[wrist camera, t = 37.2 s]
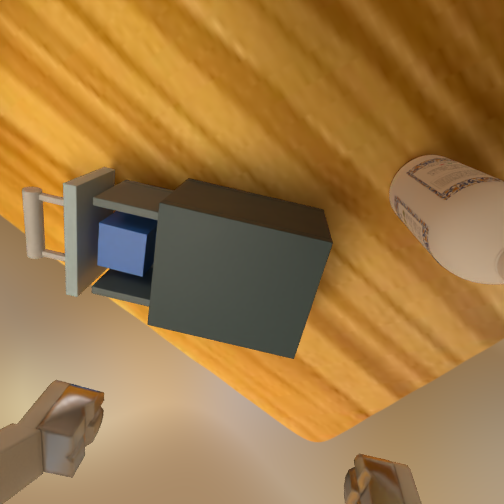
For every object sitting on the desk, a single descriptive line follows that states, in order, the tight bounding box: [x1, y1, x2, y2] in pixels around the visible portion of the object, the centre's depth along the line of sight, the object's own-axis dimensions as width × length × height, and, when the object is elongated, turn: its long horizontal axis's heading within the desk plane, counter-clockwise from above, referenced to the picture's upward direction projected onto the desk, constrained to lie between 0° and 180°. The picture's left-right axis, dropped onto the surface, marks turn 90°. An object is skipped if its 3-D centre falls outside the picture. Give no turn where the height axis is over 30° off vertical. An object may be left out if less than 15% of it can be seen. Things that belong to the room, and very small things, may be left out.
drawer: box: [22, 167, 173, 306], centre depth 35 cm, size 19×11×7 cm, turn 78°
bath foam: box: [389, 155, 504, 284], centre depth 26 cm, size 7×7×20 cm
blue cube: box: [97, 211, 158, 277], centre depth 36 cm, size 5×5×5 cm
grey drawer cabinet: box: [148, 178, 333, 359], centre depth 35 cm, size 15×13×9 cm
